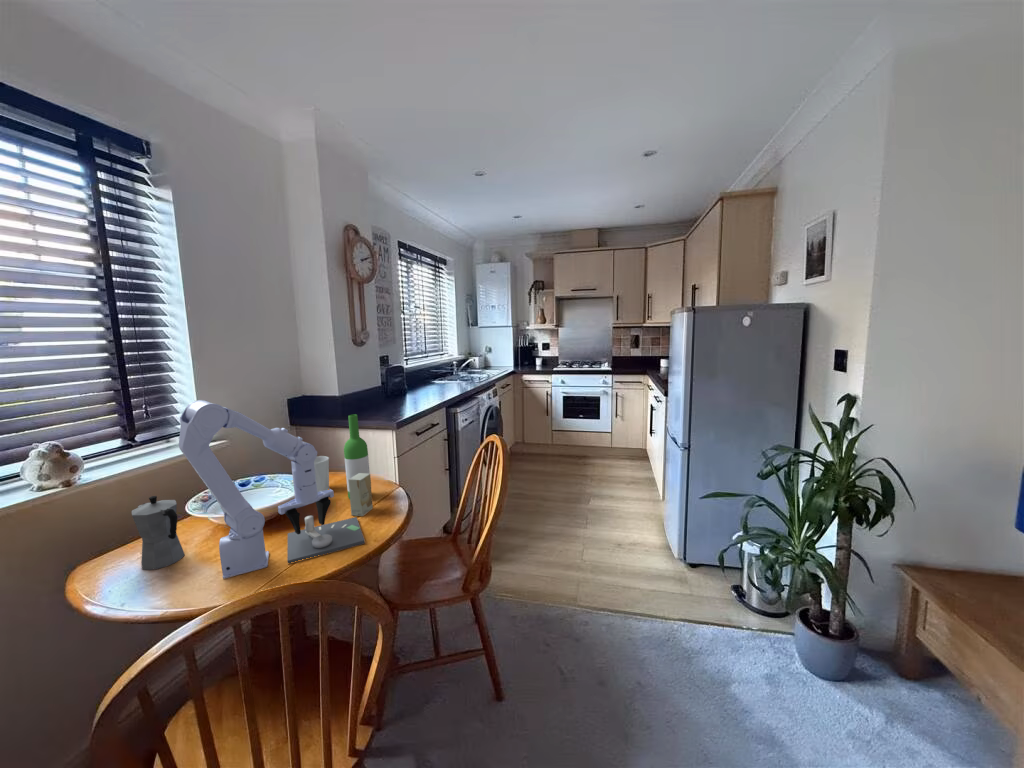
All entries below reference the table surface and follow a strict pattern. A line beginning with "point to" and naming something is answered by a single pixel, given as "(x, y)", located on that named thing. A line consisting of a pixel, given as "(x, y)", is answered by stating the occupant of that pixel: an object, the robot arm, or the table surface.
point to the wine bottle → (355, 452)
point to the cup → (322, 473)
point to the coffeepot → (158, 533)
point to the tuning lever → (316, 534)
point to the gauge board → (341, 532)
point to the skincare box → (360, 494)
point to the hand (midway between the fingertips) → (310, 528)
